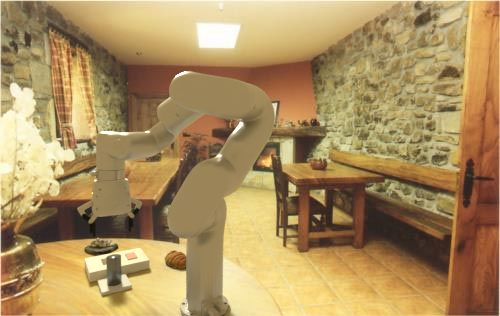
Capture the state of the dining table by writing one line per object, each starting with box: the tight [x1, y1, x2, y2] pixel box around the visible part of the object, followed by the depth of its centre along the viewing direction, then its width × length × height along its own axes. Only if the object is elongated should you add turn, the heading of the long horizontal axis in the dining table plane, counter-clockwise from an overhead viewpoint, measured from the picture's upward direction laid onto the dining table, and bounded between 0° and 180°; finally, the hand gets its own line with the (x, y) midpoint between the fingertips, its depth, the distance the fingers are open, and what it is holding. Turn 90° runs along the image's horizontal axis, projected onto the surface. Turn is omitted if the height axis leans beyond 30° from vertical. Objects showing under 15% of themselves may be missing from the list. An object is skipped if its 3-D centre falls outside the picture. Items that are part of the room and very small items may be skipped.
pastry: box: [164, 249, 186, 270], centre depth 110 cm, size 9×7×4 cm
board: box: [84, 247, 150, 283], centre depth 106 cm, size 12×18×3 cm, turn 123°
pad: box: [97, 274, 133, 297], centre depth 94 cm, size 8×8×1 cm
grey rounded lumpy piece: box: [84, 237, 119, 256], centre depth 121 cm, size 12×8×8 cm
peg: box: [106, 254, 122, 286], centre depth 94 cm, size 4×4×8 cm
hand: (111, 232), depth 93 cm, fingers open, 9 cm apart
